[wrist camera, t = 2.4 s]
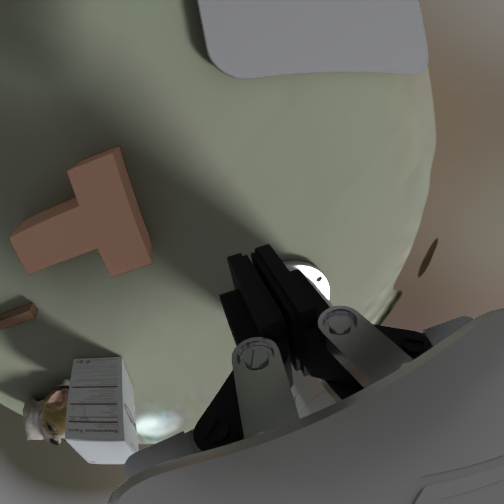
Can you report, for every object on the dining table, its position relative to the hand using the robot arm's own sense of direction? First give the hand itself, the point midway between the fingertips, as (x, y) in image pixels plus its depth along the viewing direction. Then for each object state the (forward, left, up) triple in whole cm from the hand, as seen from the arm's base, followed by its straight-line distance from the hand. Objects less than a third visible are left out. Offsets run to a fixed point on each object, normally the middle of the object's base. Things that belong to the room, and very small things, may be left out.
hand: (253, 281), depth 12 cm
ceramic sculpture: (-25, +32, -17) cm, 44 cm away
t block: (0, +11, -17) cm, 20 cm away
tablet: (+16, -16, -18) cm, 29 cm away
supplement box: (-21, +20, -17) cm, 34 cm away
